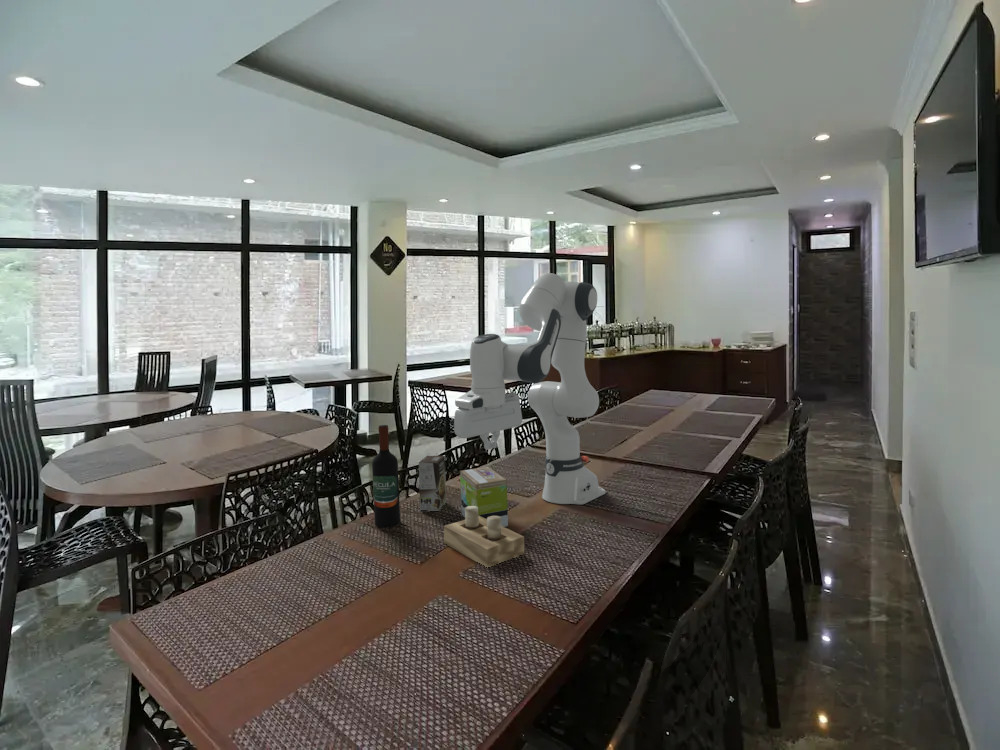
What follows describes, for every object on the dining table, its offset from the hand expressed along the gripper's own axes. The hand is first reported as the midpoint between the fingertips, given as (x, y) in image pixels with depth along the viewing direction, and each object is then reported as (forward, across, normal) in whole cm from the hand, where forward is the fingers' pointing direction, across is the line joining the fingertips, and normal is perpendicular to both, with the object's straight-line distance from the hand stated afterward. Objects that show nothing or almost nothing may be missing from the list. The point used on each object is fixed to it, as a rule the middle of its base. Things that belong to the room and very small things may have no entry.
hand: (490, 448), depth 154 cm
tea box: (+28, -9, -16) cm, 34 cm away
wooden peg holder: (+27, +4, 0) cm, 27 cm away
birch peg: (+27, +4, +5) cm, 28 cm away
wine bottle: (+27, +14, -34) cm, 46 cm away
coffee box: (+28, -4, -37) cm, 47 cm away
